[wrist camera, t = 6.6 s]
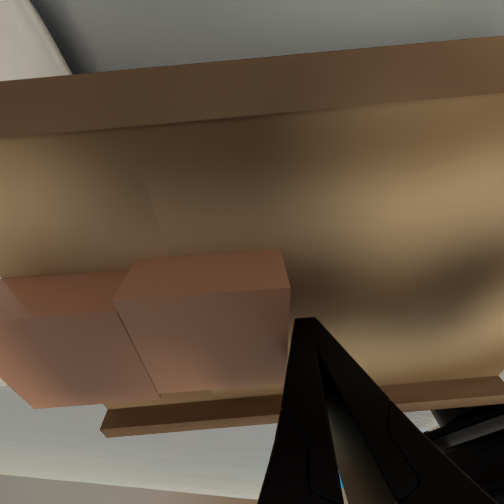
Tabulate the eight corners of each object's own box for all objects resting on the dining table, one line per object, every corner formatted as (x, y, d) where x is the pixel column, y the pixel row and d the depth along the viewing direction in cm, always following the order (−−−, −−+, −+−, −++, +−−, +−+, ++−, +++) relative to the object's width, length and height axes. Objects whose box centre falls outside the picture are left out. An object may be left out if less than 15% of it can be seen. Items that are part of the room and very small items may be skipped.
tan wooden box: (411, 291, 21) (505, 403, 14) (153, 314, 21) (106, 437, 14) (500, 51, 12) (897, 0, 5) (59, 91, 13) (-208, 100, 5)
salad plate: (226, 302, 22) (225, 335, 19) (22, 358, 24) (-7, 394, 22) (37, -52, 10) (-41, -106, 7) (-305, 130, 13) (-458, 142, 10)
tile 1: (279, 340, 11) (286, 384, 10) (169, 348, 11) (158, 393, 10) (280, 249, 9) (290, 287, 7) (136, 258, 9) (111, 300, 7)
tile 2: (171, 354, 12) (160, 399, 10) (63, 362, 12) (34, 408, 10) (139, 268, 9) (116, 311, 7) (-4, 278, 9) (-60, 324, 7)
